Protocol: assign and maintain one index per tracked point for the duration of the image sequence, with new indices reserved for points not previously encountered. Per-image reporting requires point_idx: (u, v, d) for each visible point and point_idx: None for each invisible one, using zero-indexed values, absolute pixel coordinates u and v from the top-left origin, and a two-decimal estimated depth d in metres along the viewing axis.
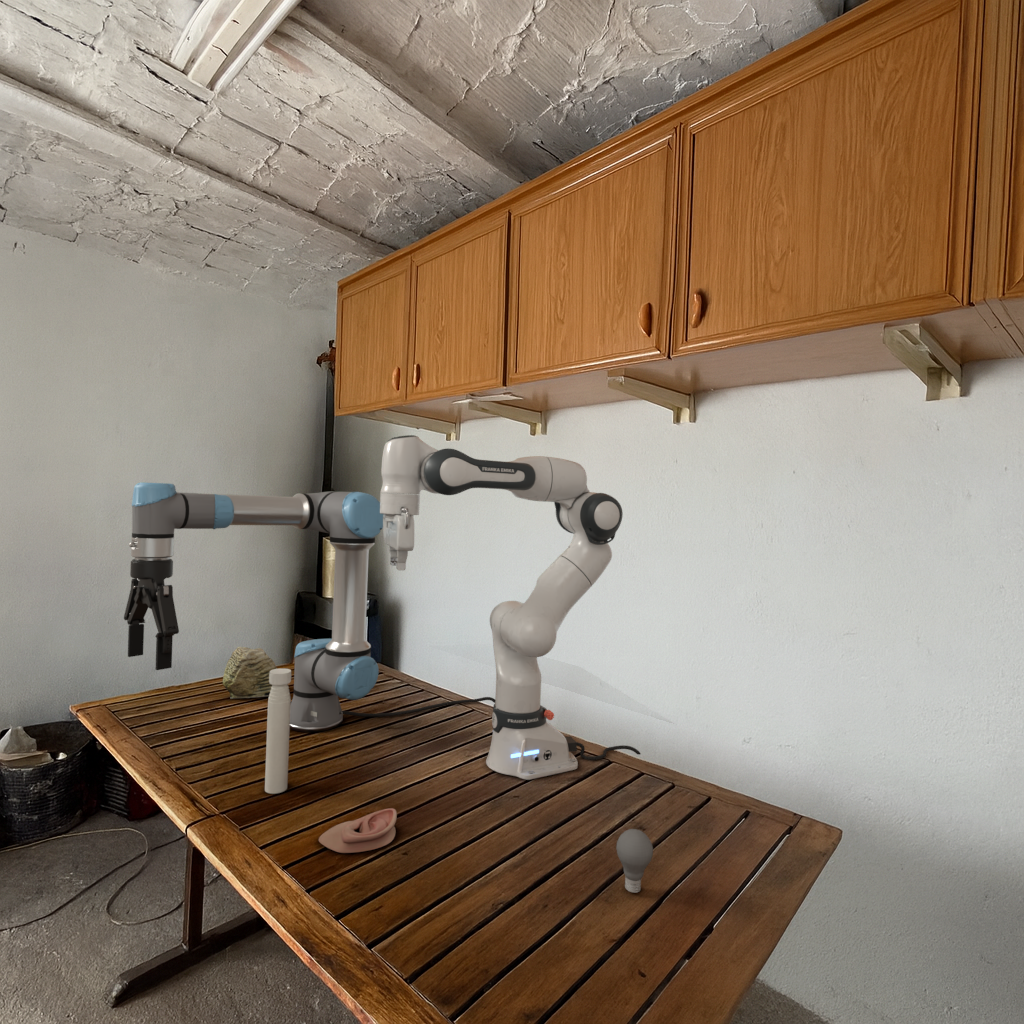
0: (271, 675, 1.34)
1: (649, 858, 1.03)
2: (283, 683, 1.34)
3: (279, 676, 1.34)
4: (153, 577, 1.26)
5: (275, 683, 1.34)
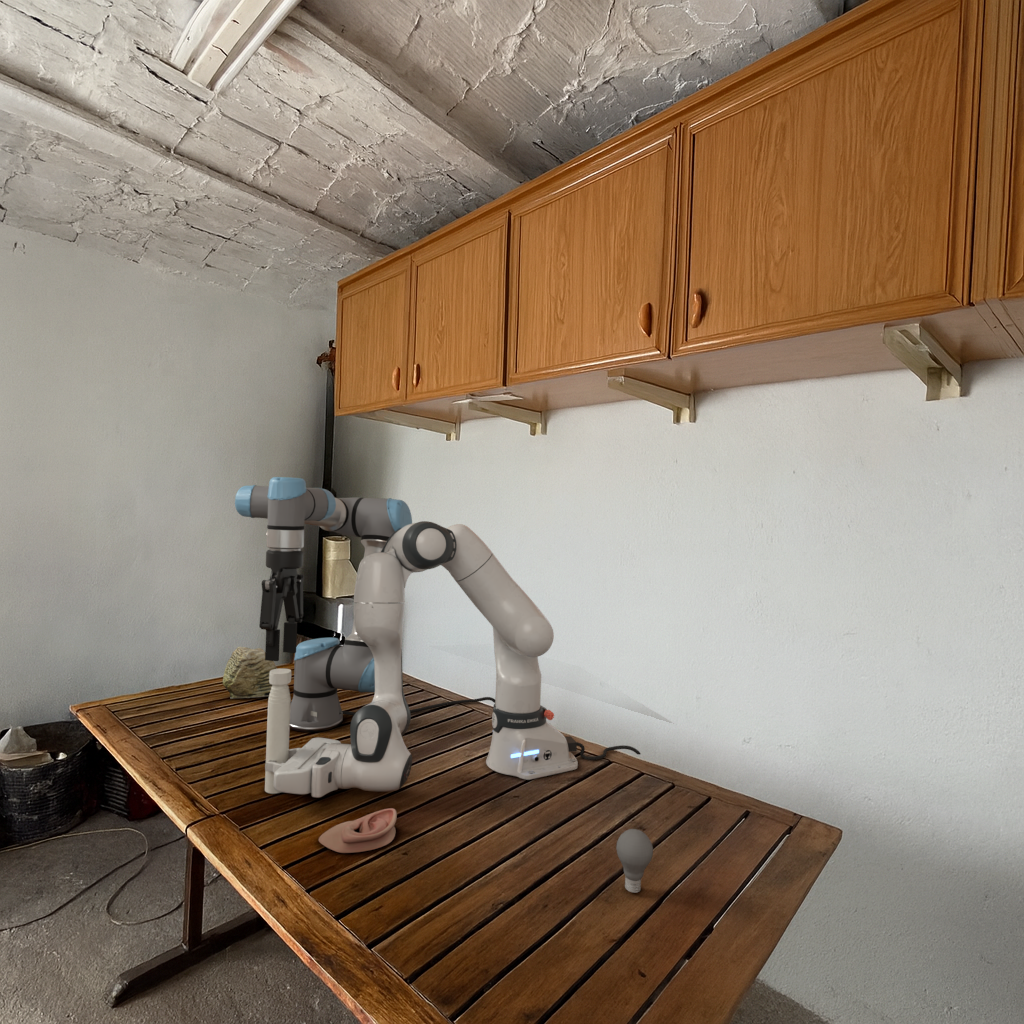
0: (271, 675, 1.34)
1: (649, 858, 1.03)
2: (283, 683, 1.34)
3: (279, 676, 1.34)
4: (270, 566, 1.32)
5: (275, 683, 1.34)
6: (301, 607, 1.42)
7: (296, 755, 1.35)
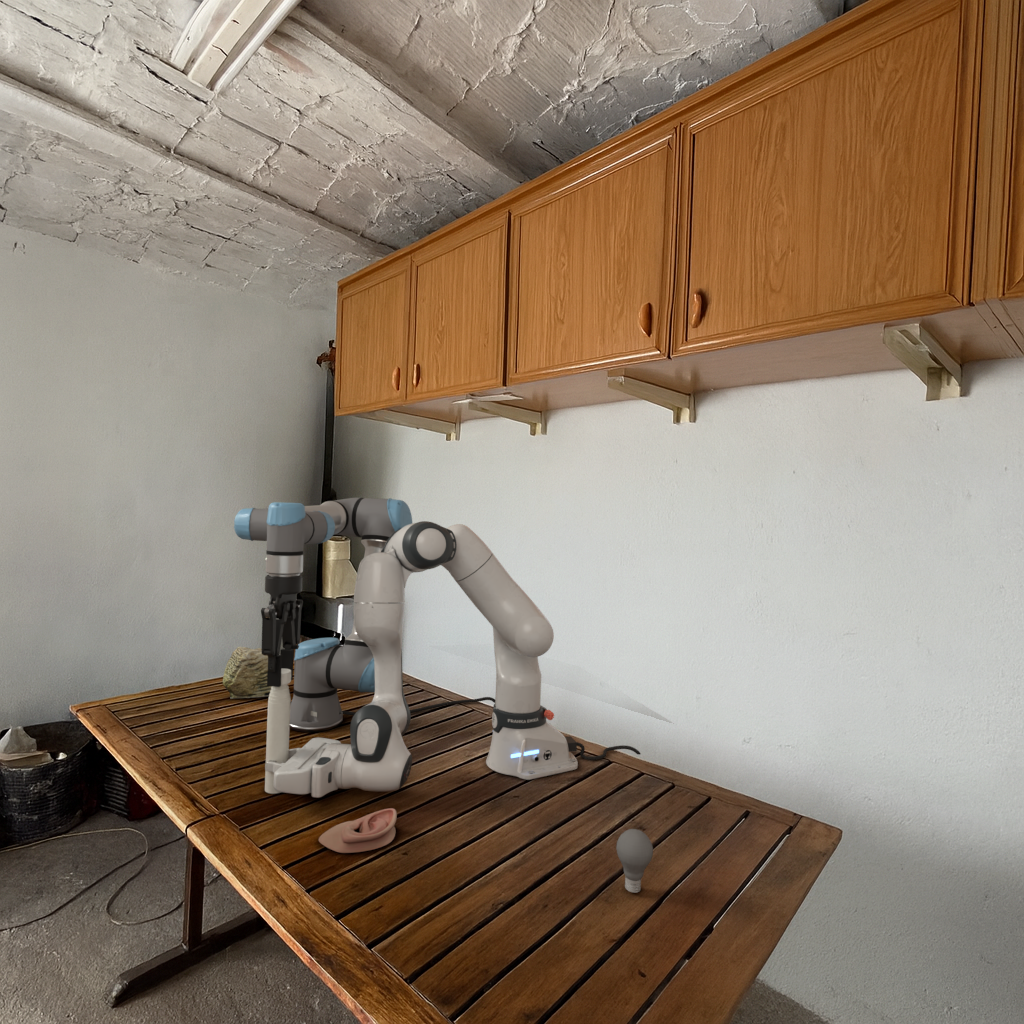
0: None
1: (649, 858, 1.03)
2: (283, 683, 1.34)
3: None
4: (269, 592, 1.32)
5: None
6: (298, 633, 1.41)
7: (296, 755, 1.35)
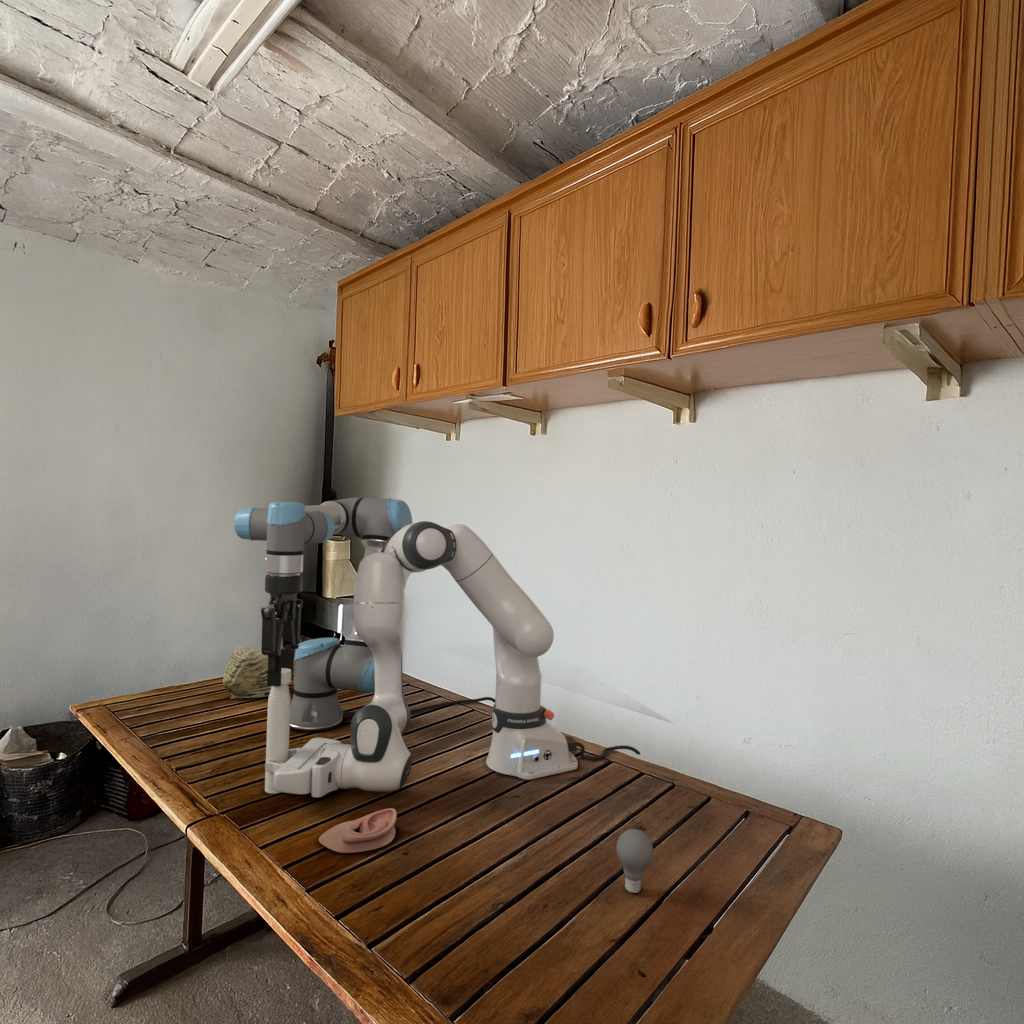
0: (285, 675, 1.35)
1: (649, 858, 1.03)
2: None
3: (290, 673, 1.36)
4: (269, 591, 1.32)
5: (289, 681, 1.36)
6: (298, 633, 1.41)
7: (296, 755, 1.35)
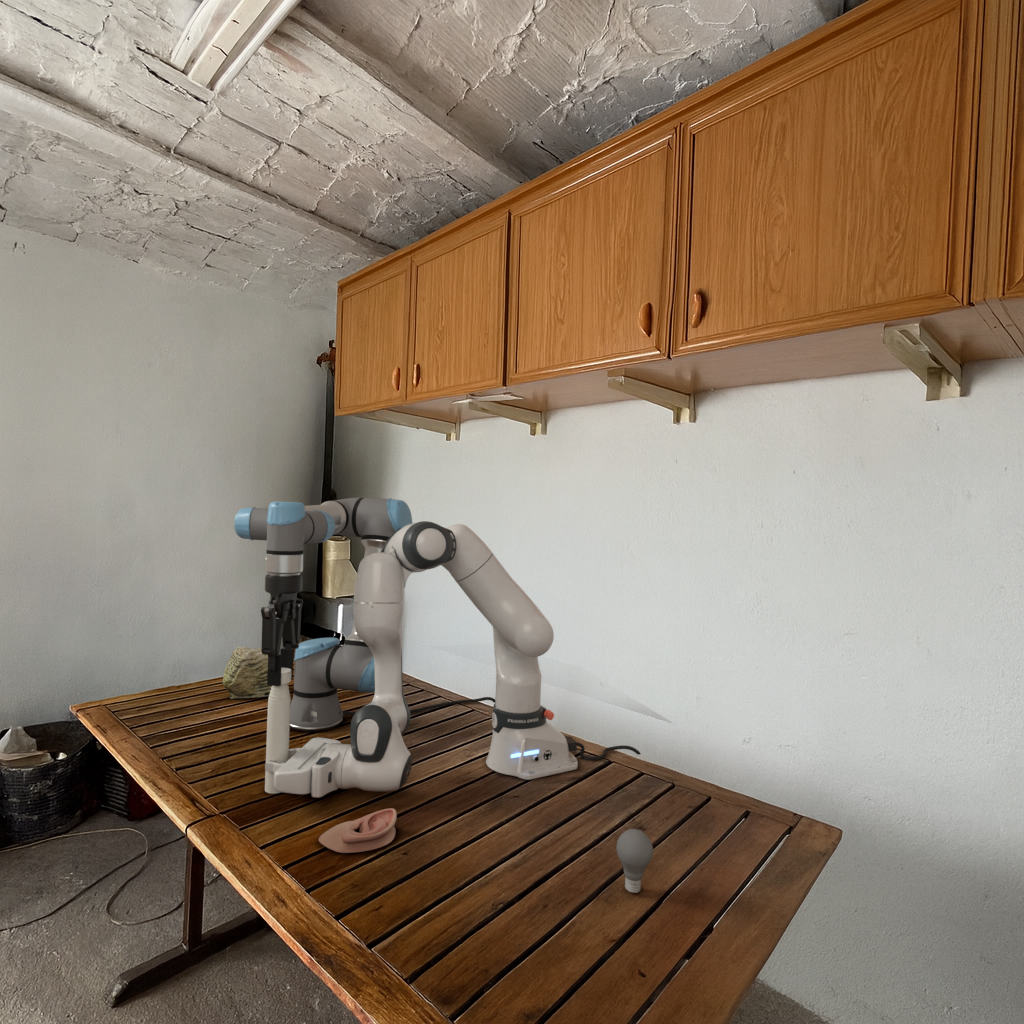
0: None
1: (649, 858, 1.03)
2: None
3: None
4: (269, 591, 1.32)
5: None
6: (298, 632, 1.41)
7: (296, 755, 1.35)
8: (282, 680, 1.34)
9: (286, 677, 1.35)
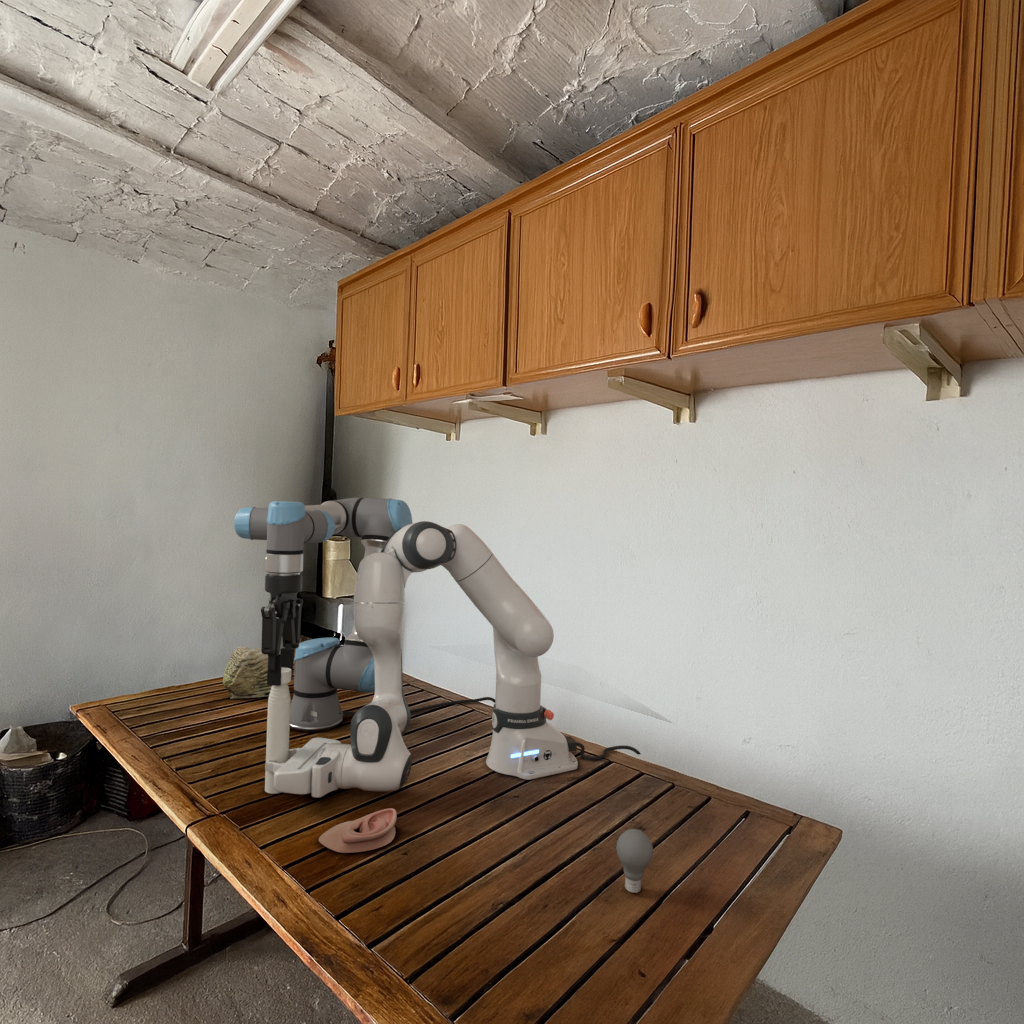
0: None
1: (649, 858, 1.03)
2: None
3: None
4: (269, 591, 1.32)
5: None
6: (298, 632, 1.41)
7: (296, 755, 1.35)
8: None
9: None
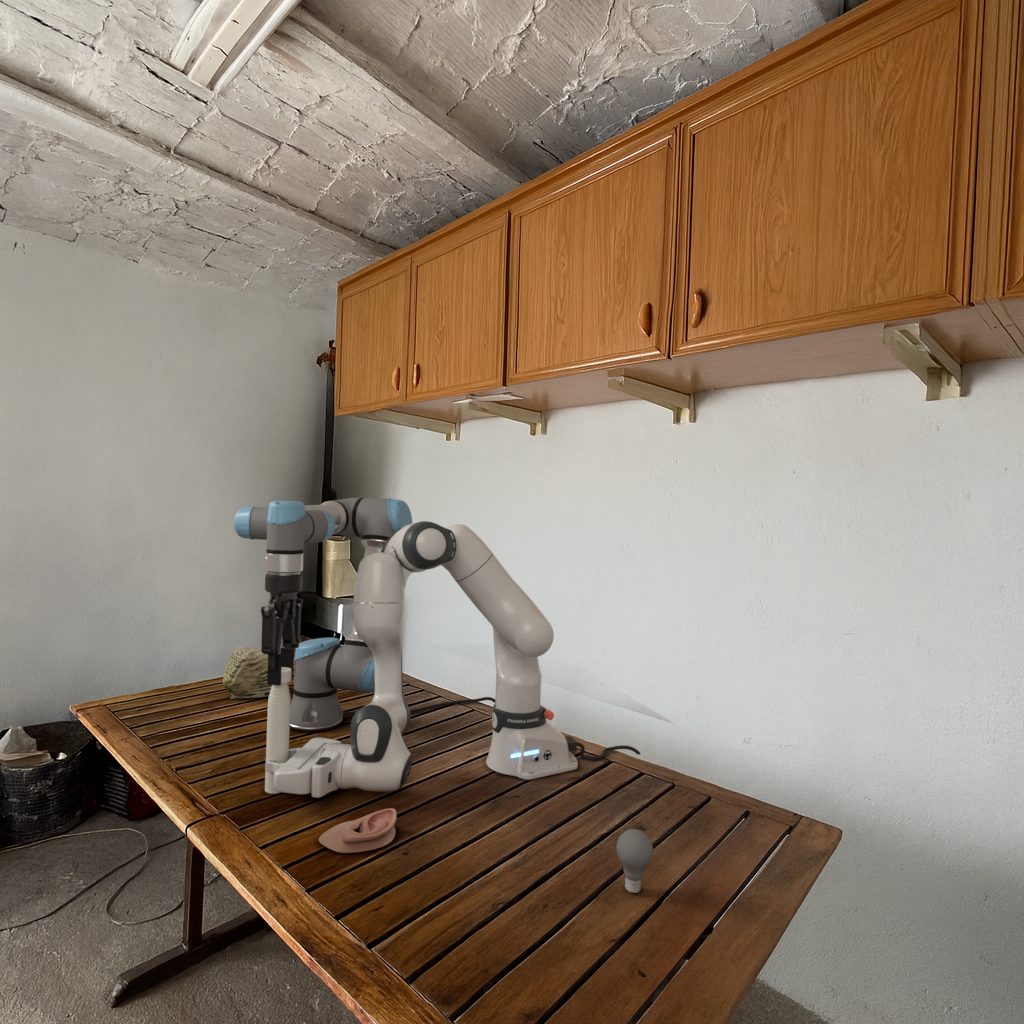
0: None
1: (649, 858, 1.03)
2: None
3: None
4: (269, 590, 1.32)
5: None
6: (298, 632, 1.41)
7: (296, 755, 1.35)
8: None
9: None
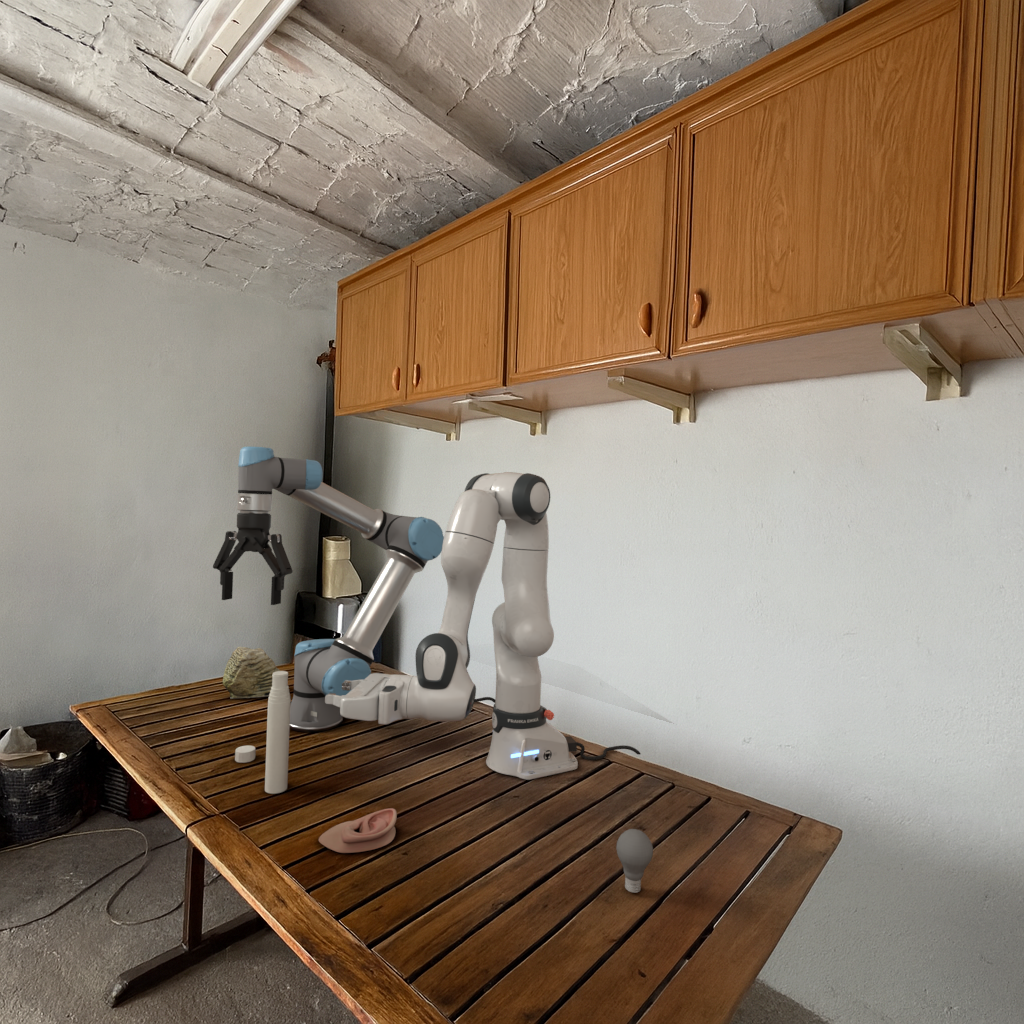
0: (245, 754, 1.49)
1: (649, 858, 1.03)
2: (254, 757, 1.51)
3: (252, 752, 1.50)
4: (263, 527, 1.48)
5: (250, 760, 1.50)
6: None
7: (359, 686, 1.33)
8: None
9: (235, 755, 1.50)
